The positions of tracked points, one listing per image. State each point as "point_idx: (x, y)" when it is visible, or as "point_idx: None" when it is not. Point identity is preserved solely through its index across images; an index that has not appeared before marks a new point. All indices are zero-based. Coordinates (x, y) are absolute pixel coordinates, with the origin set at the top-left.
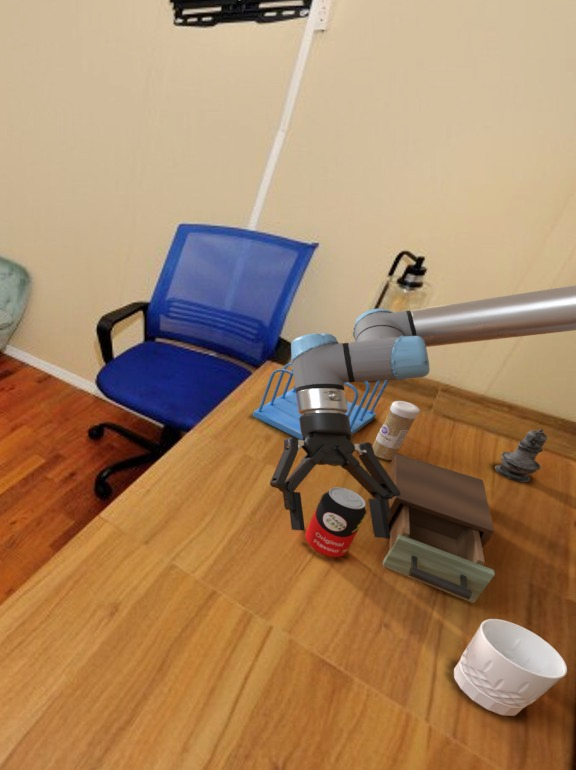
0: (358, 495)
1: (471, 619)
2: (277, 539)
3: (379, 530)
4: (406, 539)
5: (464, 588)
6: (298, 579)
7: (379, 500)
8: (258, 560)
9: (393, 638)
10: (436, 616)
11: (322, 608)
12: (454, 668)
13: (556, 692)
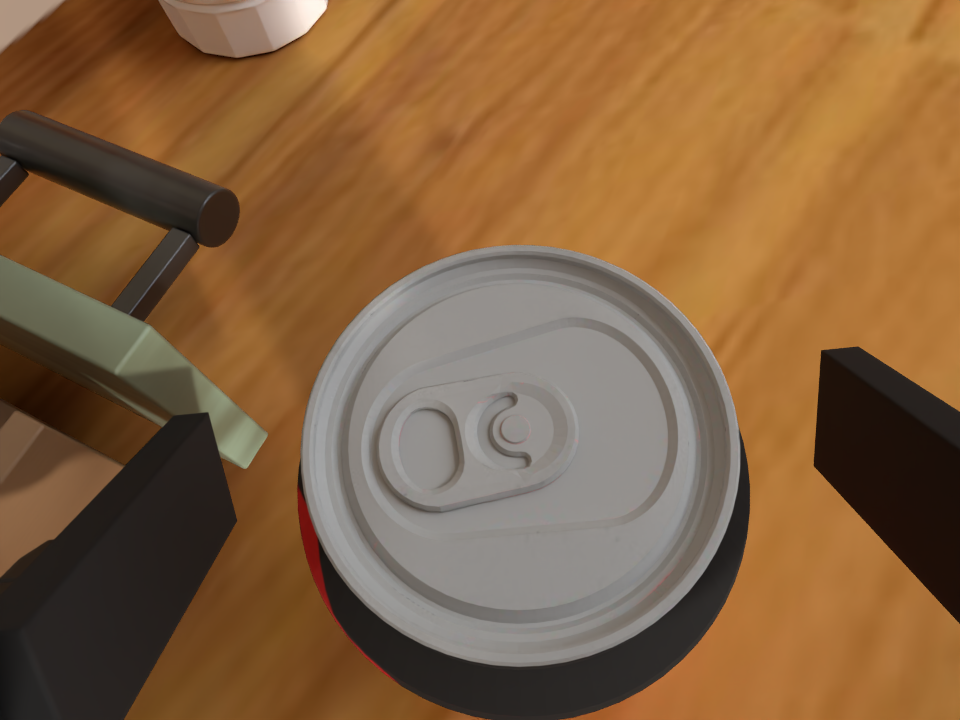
0: (326, 514)
1: (56, 247)
2: (816, 568)
3: (202, 488)
4: (98, 323)
5: (26, 125)
6: (750, 284)
7: (34, 614)
8: (951, 362)
9: (445, 98)
10: None
11: (680, 158)
12: (304, 27)
13: (28, 45)
